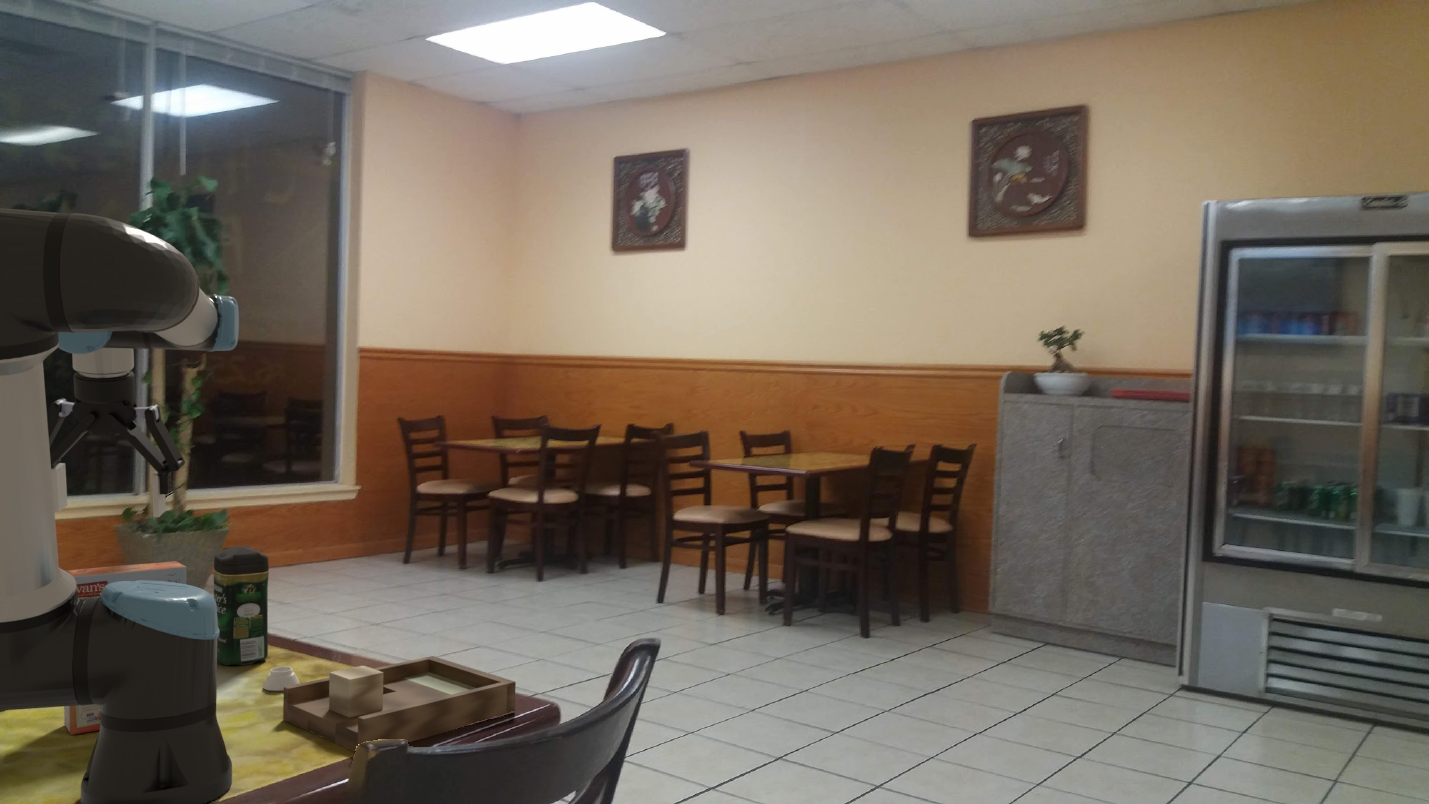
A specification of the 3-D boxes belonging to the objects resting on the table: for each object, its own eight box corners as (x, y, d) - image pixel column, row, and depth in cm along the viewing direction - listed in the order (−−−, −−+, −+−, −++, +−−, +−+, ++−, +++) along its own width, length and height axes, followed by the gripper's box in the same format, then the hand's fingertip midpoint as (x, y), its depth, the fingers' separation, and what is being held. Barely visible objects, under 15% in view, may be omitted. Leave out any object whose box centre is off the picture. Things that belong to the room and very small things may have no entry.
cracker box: (176, 706, 152) (178, 559, 152) (186, 717, 147) (189, 565, 147) (61, 724, 143) (63, 568, 143) (68, 736, 139) (70, 575, 138)
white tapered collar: (289, 694, 160) (305, 684, 165) (289, 674, 160) (305, 665, 165) (256, 692, 160) (273, 683, 165) (257, 672, 160) (274, 664, 165)
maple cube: (349, 717, 141) (349, 679, 141) (329, 709, 144) (329, 672, 144) (382, 709, 145) (383, 672, 145) (362, 701, 148) (363, 665, 148)
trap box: (362, 755, 134) (363, 719, 134) (283, 719, 147) (283, 687, 147) (514, 713, 153) (515, 681, 153) (432, 685, 166) (432, 656, 166)
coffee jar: (207, 656, 179) (208, 545, 179) (257, 650, 184) (259, 542, 184) (221, 669, 172) (222, 553, 171) (273, 662, 176) (274, 549, 176)
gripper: (206, 370, 157) (208, 506, 163) (22, 357, 154) (31, 497, 159) (188, 384, 150) (191, 525, 156) (-6, 370, 147) (5, 516, 152)
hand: (110, 511), depth 157 cm, fingers open, 13 cm apart
